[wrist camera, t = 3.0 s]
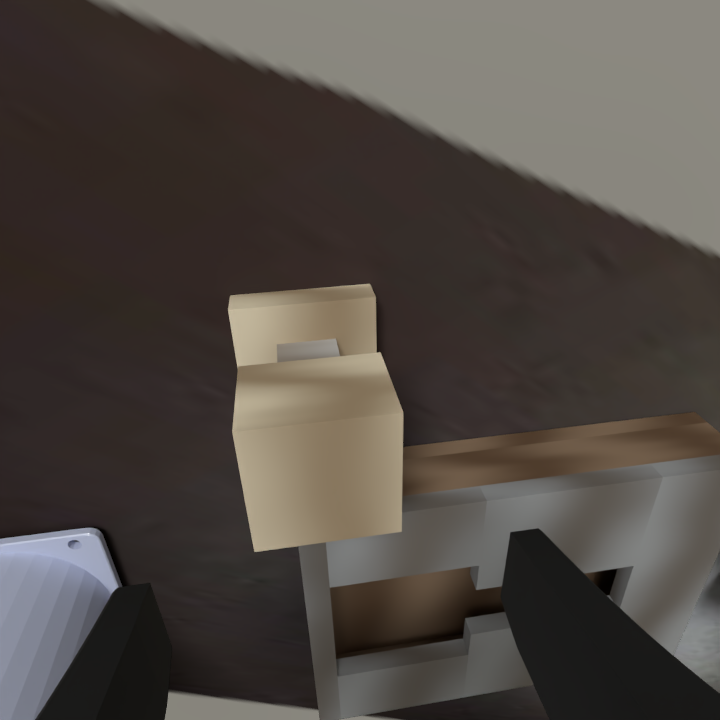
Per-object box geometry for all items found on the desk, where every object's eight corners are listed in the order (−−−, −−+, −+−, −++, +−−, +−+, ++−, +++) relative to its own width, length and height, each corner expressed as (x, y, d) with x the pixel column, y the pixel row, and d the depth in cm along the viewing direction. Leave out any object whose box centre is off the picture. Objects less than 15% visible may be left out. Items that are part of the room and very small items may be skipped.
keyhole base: (314, 650, 29) (320, 722, 25) (291, 460, 22) (296, 526, 19) (630, 599, 31) (671, 660, 28) (694, 412, 24) (757, 464, 21)
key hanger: (249, 411, 21) (241, 564, 14) (230, 295, 18) (211, 419, 12) (372, 397, 21) (415, 539, 15) (370, 283, 19) (420, 396, 13)
